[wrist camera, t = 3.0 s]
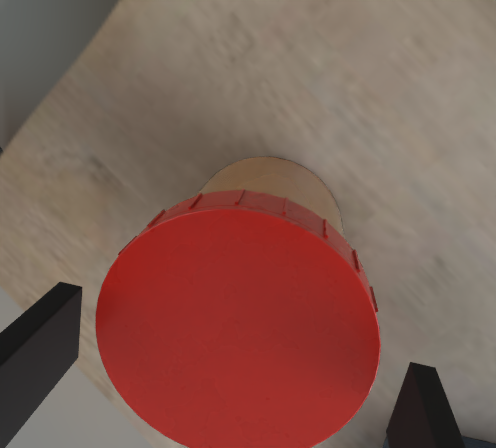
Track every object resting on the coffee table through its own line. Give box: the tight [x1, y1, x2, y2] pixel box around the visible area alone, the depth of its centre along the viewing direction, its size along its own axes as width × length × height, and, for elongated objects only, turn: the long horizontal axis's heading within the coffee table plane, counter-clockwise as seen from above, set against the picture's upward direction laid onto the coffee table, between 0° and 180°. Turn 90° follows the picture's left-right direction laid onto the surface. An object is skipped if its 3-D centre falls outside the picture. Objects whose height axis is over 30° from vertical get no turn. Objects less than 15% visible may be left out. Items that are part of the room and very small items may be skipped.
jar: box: [196, 157, 344, 238], centre depth 21 cm, size 8×8×11 cm
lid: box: [96, 189, 381, 448], centre depth 17 cm, size 10×10×2 cm
